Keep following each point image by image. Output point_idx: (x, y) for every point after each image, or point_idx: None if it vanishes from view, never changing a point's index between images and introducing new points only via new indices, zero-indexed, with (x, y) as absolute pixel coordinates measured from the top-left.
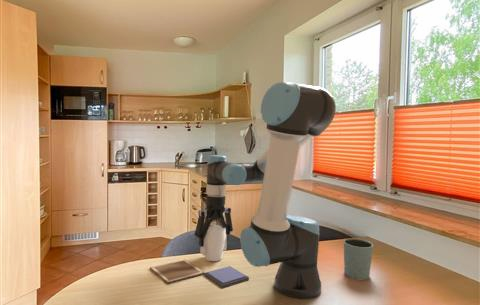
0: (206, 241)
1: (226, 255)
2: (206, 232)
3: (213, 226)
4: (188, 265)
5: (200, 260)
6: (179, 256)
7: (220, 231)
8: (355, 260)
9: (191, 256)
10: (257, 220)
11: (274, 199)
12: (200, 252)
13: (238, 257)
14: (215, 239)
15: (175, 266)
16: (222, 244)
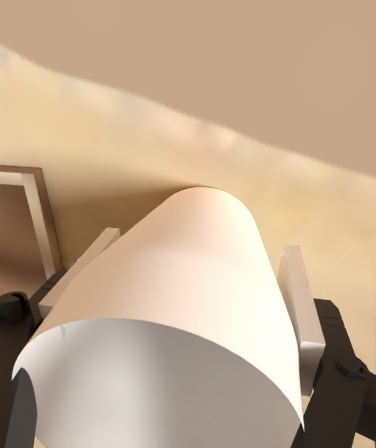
0: (87, 330)
1: (308, 244)
2: (36, 405)
3: (231, 330)
4: (31, 247)
5: (124, 212)
6: (29, 80)
7: None
8: None
9: (101, 128)
10: None
11: None
12: (104, 232)
13: (342, 304)
14: (128, 404)
15: None
16: (208, 369)
